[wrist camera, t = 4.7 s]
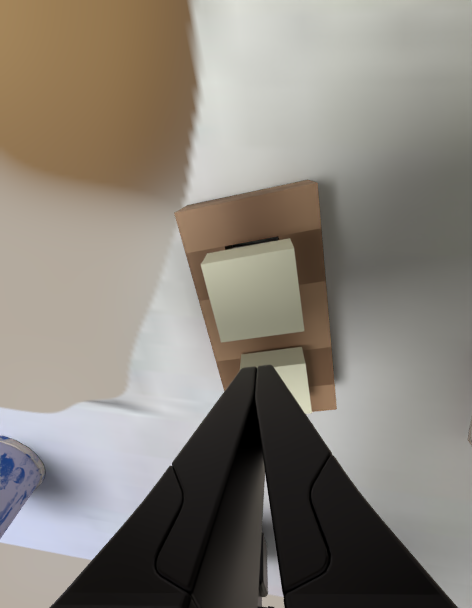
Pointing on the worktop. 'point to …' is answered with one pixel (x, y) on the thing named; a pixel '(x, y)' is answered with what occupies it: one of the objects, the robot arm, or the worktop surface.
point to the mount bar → (309, 262)
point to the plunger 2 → (285, 371)
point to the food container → (470, 433)
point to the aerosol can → (16, 478)
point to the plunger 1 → (254, 290)
